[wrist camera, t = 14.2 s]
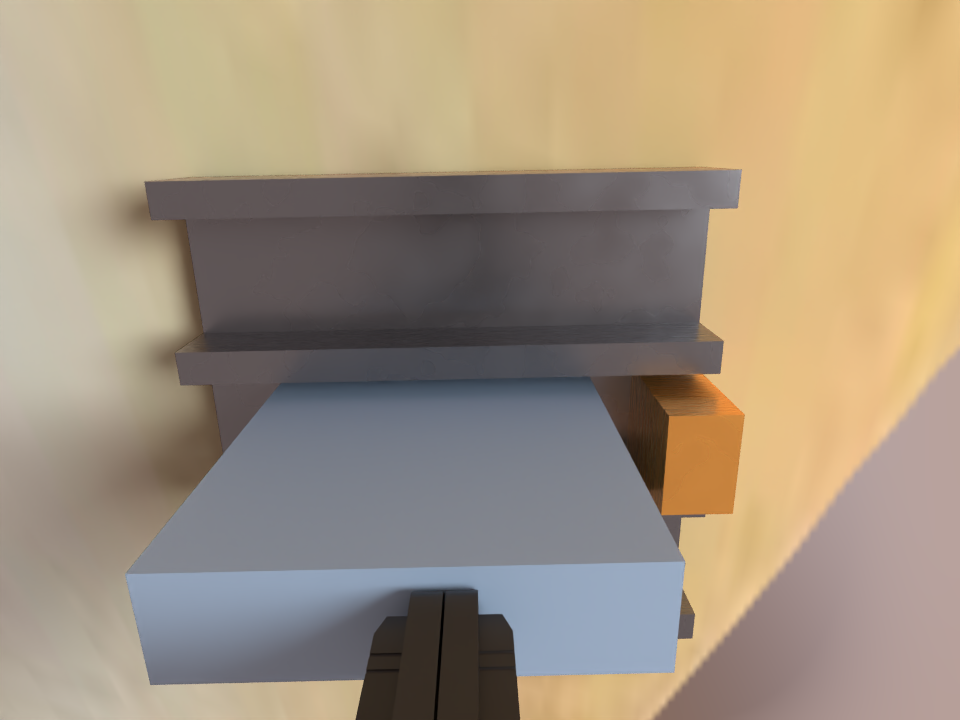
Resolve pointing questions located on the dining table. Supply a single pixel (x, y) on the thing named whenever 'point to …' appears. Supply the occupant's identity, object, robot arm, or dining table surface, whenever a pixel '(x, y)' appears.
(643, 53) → the dining table surface
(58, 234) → the dining table surface
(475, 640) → the robot arm
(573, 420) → the panel
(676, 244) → the rack
